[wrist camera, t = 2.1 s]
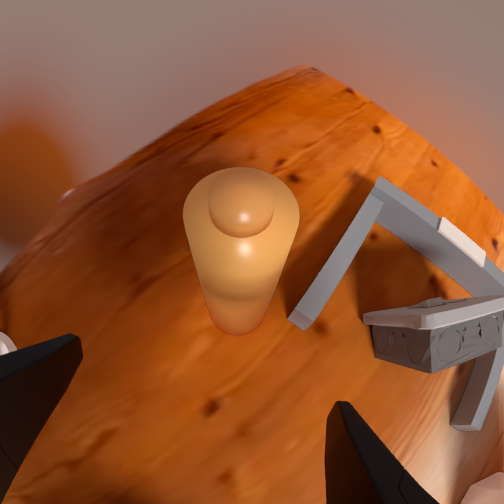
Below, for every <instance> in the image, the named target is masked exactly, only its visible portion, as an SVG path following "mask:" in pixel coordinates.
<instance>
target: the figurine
mask: <svg viewBox="0 0 504 504" xmlns="http://www.w3.org/2000/svg"><path fill="white" fill-rule="evenodd" d="M16 350H17V348H16V346H15V344H14V343H13V341H12V340H11V339H10V338H9V337H8V336H7V335H5V334H4V333H2V332H0V355H3V354H6V353H9V352H12V351H16Z"/></svg>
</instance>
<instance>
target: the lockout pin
mask: <svg viewBox="0 0 504 504" xmlns="http://www.w3.org/2000/svg"><path fill="white" fill-rule="evenodd" d="M299 214H300V213H299V207H298V204H297V201H296V199H295V197H294V195H293V193H292V192H291V190H290V189H289V188H288V187H287V186H286V185H285V184H284V183H283V182H282V181H281V180H279V179H278V178H277V177H275V176H273V175H271V174H269V173H267V172H265V171H262V170H258V169H254V168H247V167H233V168H227V169H222V170H219V171H216V172H214V173H211V174H210V175H208V176H206V177H204V178H203V179H202V180H200V181H199V182H198V183H197V184H196V185H195V186H194V187H193V188H192V190H191V191H190V193H189V194H188V196H187V198H186V201H185V204H184V207H183V222H184V226H185V230H186V234H187V238H188V242H189V245H190V249H191V253H192V256H193V260H194V263H195V267H196V270H197V274H198V277H199V281H200V284H201V288H202V291H203V295H204V298H205V301H206V305H207V308H208V311H209V314H210V317H211V320H212V322H213V323H214V324H215V326H216V327H217V328H218V329H220V330H221V331H222V332H224V333H227V334H230V335H235V336H240V335H245V334H248V333H251V332H252V331H254V330H255V329H257V328H258V327H259V326H260V324H261V323H262V321H263V319H264V317H265V314H266V312H267V309H268V306H269V304H270V301H271V299H272V296H273V294H274V291H275V288H276V286H277V283H278V280H279V278H280V275H281V272H282V270H283V267H284V264H285V262H286V259H287V256H288V254H289V251H290V248H291V245H292V243H293V240H294V237H295V234H296V232H297V229H298V225H299Z"/></svg>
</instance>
